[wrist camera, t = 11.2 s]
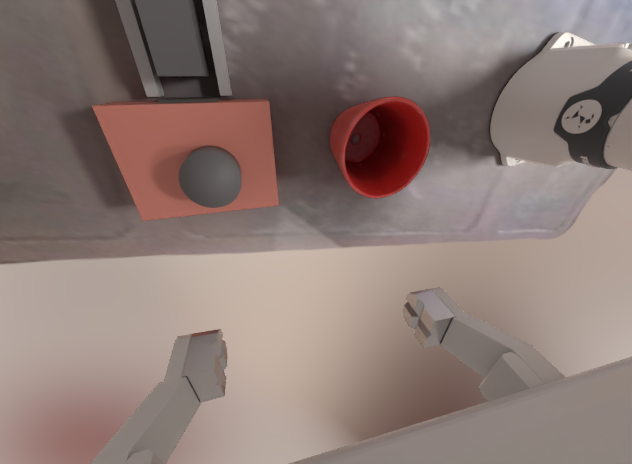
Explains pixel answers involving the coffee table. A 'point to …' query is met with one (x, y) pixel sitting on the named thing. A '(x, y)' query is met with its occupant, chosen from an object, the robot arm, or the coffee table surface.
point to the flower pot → (380, 145)
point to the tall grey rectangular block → (173, 37)
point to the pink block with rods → (190, 138)
